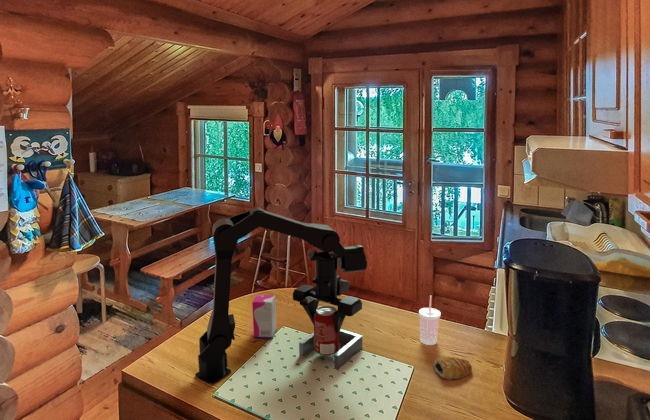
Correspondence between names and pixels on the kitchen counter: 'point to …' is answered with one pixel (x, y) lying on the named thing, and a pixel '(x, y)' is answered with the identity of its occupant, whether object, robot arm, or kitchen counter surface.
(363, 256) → the robot arm
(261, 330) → the supplement box
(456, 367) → the pastry
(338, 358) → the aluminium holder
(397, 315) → the kitchen counter surface
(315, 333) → the soda can
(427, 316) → the beverage cup
